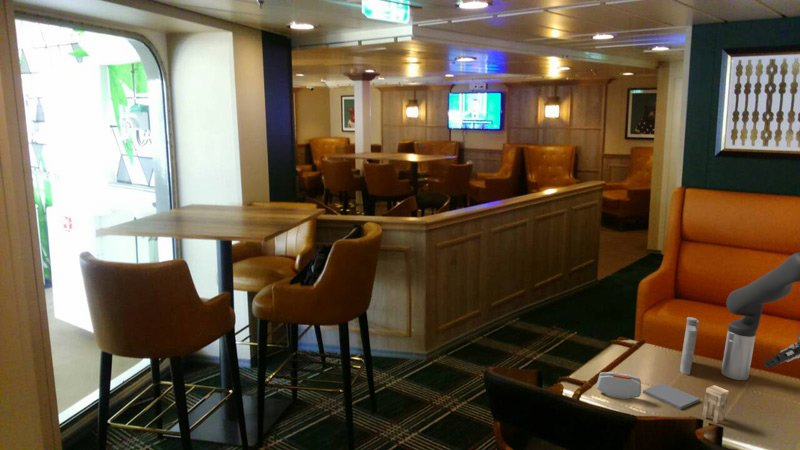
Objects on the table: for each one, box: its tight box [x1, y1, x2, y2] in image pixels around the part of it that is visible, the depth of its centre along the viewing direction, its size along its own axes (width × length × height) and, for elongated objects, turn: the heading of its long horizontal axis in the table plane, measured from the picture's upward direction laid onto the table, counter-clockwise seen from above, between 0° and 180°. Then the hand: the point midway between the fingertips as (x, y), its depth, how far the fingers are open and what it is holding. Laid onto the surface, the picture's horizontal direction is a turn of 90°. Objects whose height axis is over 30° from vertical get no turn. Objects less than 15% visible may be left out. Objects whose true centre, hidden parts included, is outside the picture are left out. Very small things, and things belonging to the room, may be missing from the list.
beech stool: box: [701, 384, 730, 424], centre depth 201 cm, size 5×5×10 cm
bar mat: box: [642, 382, 701, 410], centre depth 216 cm, size 12×14×1 cm
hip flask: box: [679, 316, 699, 376], centre depth 241 cm, size 16×4×20 cm, turn 152°
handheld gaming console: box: [596, 371, 642, 400], centre depth 214 cm, size 14×3×8 cm, turn 74°
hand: (772, 362), depth 186 cm, fingers open, 8 cm apart
